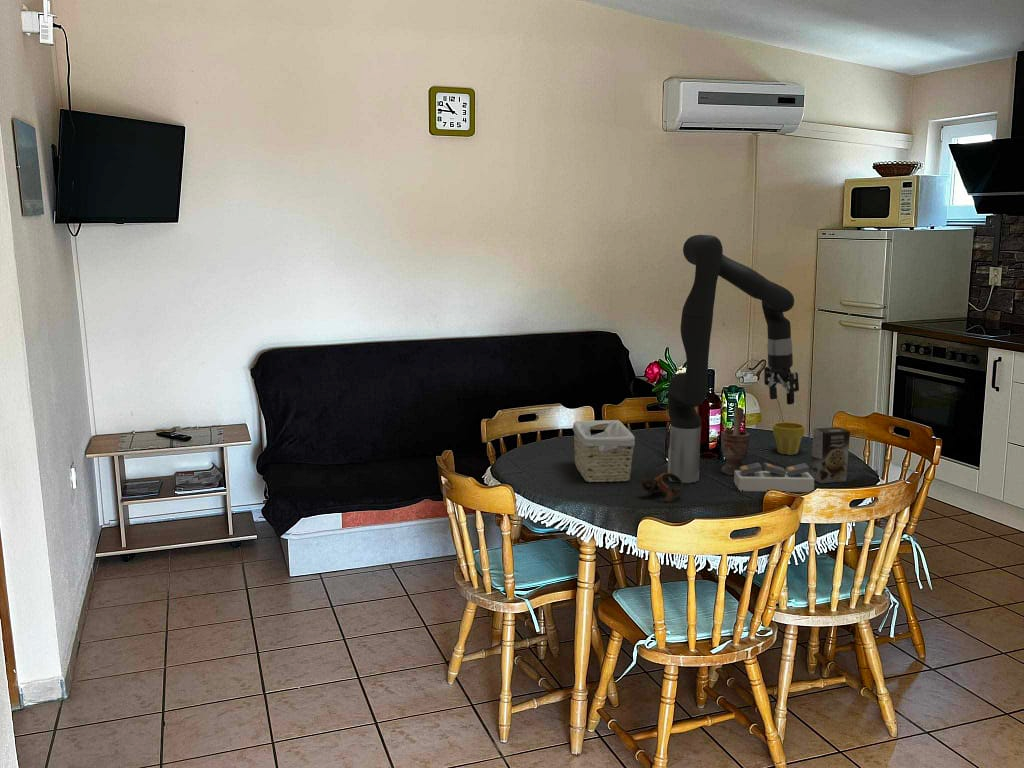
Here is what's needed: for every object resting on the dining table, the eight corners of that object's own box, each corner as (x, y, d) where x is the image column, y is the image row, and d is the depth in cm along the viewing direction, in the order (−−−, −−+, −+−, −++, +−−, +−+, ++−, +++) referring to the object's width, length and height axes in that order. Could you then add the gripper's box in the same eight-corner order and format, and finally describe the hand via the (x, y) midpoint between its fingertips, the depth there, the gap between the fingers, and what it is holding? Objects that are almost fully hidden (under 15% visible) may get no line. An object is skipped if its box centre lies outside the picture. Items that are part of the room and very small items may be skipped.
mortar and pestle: (715, 465, 301) (718, 406, 297) (742, 465, 300) (745, 406, 296) (722, 476, 289) (725, 414, 285) (749, 476, 289) (753, 414, 285)
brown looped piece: (671, 491, 275) (682, 472, 271) (676, 514, 268) (688, 495, 263) (634, 484, 273) (644, 464, 268) (638, 506, 265) (649, 486, 261)
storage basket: (571, 463, 304) (571, 419, 301) (619, 461, 305) (620, 418, 302) (583, 484, 280) (584, 438, 278) (635, 483, 282) (636, 437, 279)
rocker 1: (742, 475, 275) (741, 470, 275) (740, 471, 280) (738, 466, 279) (762, 470, 275) (761, 465, 274) (759, 466, 279) (758, 461, 279)
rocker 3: (790, 476, 275) (789, 471, 274) (786, 471, 279) (785, 467, 279) (810, 471, 274) (809, 466, 274) (806, 467, 278) (805, 462, 278)
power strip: (739, 491, 274) (739, 476, 273) (733, 482, 282) (734, 468, 281) (813, 492, 273) (814, 477, 272) (806, 484, 281) (807, 469, 280)
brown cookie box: (821, 483, 282) (824, 432, 278) (809, 477, 288) (812, 427, 284) (847, 481, 284) (851, 431, 281) (834, 475, 290) (838, 426, 287)
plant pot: (768, 448, 322) (770, 421, 320) (798, 448, 321) (800, 421, 319) (775, 456, 311) (777, 428, 310) (806, 456, 311) (808, 428, 309)
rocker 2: (765, 470, 275) (767, 465, 274) (762, 466, 279) (763, 461, 279) (784, 476, 275) (786, 471, 274) (781, 471, 279) (782, 467, 279)
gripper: (756, 350, 294) (758, 399, 297) (784, 357, 281) (786, 408, 284) (775, 346, 296) (777, 395, 300) (804, 352, 283) (806, 403, 287)
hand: (781, 401), depth 292 cm, fingers open, 8 cm apart
